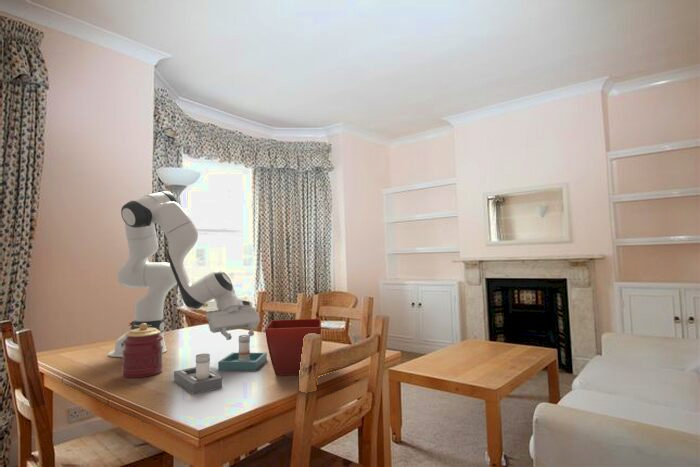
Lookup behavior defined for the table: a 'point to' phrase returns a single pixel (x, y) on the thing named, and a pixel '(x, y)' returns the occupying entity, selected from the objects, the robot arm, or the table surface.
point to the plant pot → (288, 343)
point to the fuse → (202, 366)
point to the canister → (142, 352)
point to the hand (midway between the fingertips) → (240, 336)
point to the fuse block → (191, 384)
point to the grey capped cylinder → (244, 348)
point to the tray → (242, 362)
